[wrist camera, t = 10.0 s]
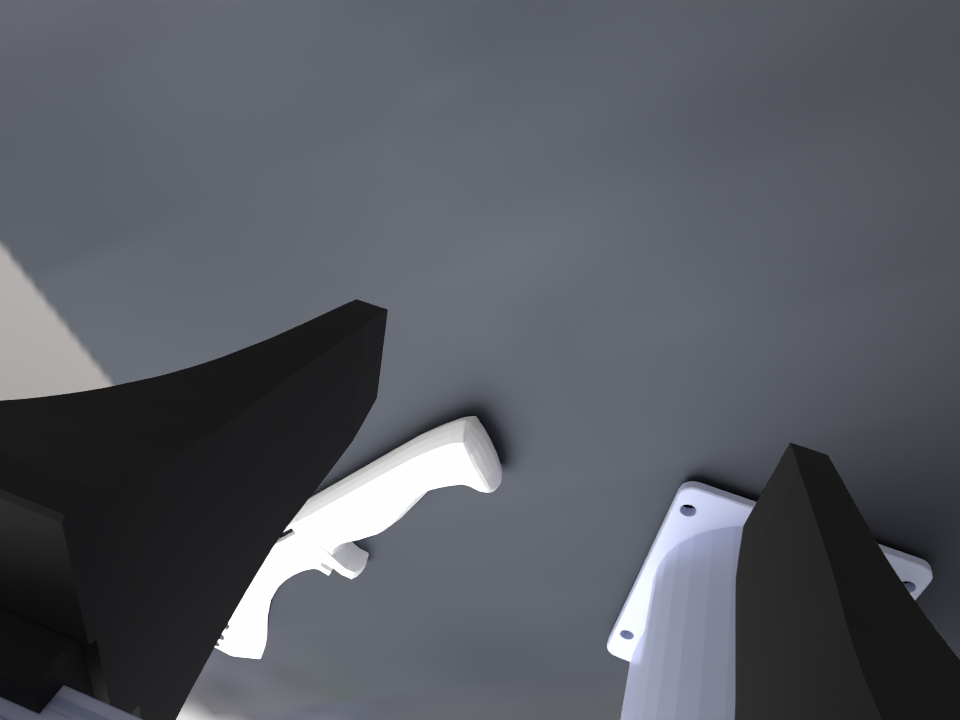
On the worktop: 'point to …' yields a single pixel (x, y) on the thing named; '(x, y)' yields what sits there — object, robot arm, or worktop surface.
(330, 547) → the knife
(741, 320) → the worktop surface
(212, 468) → the robot arm
